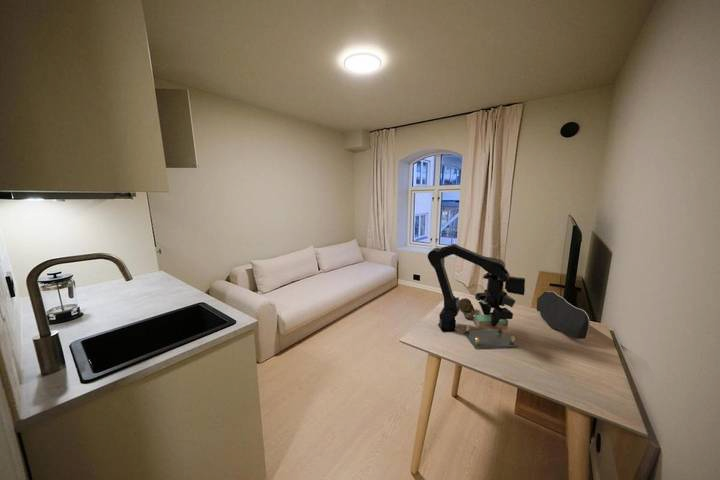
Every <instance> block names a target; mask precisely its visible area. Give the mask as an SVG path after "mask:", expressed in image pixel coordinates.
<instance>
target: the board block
mask: <svg viewBox="0 0 720 480" xmlns="http://www.w3.org/2000/svg"><path fill="white" fill-rule="evenodd" d="M473 316H474V319H473V324H474V325H475V327H476V328H477V330H502V331H503V330H504V331H505V330H506V331H507V330H508V328H509V319H500V320H499V322H498V323H497V325H496V326H495V327H493V326H492V322H491V317H490V315H484V314H474V315H473Z"/></svg>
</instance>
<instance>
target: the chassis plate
mask: <svg viewBox="0 0 720 480" xmlns="http://www.w3.org/2000/svg"><path fill="white" fill-rule="evenodd" d="M470 329H471V326H470V325H466V326H465V330H463V332H462V333H463V335H464V336H465V337H466V339H467V340H468V341H469V342H470V344H471V346H473V348H474V349H475V350H477V349H478V350H482V349H483V350H484V349H507V348H508V349H510V348H512V349H513V348H514V349H515V348H517V346H518V345H517V344H516V336H514V335H510V337H509V336H508V335H507V333H505V332H504V331H503V330H496V329H477V330H472V329H471V330H470Z"/></svg>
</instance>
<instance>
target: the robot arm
mask: <svg viewBox="0 0 720 480" xmlns="http://www.w3.org/2000/svg"><path fill="white" fill-rule="evenodd" d="M453 255H454V256H456V257H458V258H461V259H463V260H465V261H468V262H470V263H472V264H475V265H476V266H479V267H480V268H481V269H483V270H484V271H485V272H487V273H485V274H484V275H483V277H482V278H483V279H485V280H487V286H486V289H484V292H477V293H476V294H475V296H474V297H475V298H474V299H475V300H476V301H477V302H478V304H479V307H480V308H481V310H482V313H483V314H482V315H490V317H491V322H492V326H493V327H495V326H496V325H497V323H498V322H499V320H500V319H507V320H512V319H514V318H513V317H514V313H513V312H512V311H511V310H510V309H508V307H510V308H513V306H514V305H515V303H516V299H514V298H512V297H511V296H509V294H508V293H510V294H513V295H518V296H519V295H520V296H524V295H525V291H526V287H525V285H526V278H525V277H516V276H511V275H510V273H509V272H508V270H507V269H506V263H505V262H504V261H503V260H502V259H498V258H496V257H495V258H494V257H489V256H485V255H481V254H479V253H477V252H474V251H472V250H469V249H467V248H465V247H462V246H459V245H458V244H456V243H452V244H450V245H447V246H443V247H435V248H433V249H432V250H430V251H429V252H428V254H427V259H428V262H429V263H430V265H431V266H432V268H433V269H434V271H435V274H436V277H437V280H438V283H439V287H440V290H441V293H442V297H443V308H441V309H442V310H441V311H440V313H439V319H438V320H439V321H438V322H439V323H437V326H438V327H439V329H440V330H441V332H442V333H445V332H446V333H447V332H448V333H449V332H450V333H451V332H457V330H456V324H457V320H456V318H457V316H458V315H459V313H460V307H461V304H460V302H459V300H460V297H458V296H457V297H456V296H455V295H454V293H453V290H452V286H451V283H450V280H449V277H448V273H447V270H446V268H445V258H447V257H449V256H453ZM503 288H504V289H503ZM504 290H505V291H504ZM505 306H507V307H505ZM492 309H493V310H492ZM491 311H492V312H491Z"/></svg>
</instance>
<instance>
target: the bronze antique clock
mask: <svg viewBox="0 0 720 480" xmlns="http://www.w3.org/2000/svg"><path fill="white" fill-rule="evenodd" d="M459 302H460V304H461V307H460V310H459V312H461V313H462V314H463V317H464V318H465V319H467V320H470V321H472V320H474V315H476V311H475V308H474V305H473V304H472V301H471V299H469V298H465V297H463V298H461V299H459ZM472 311H473V313H471V314H470V312H472Z"/></svg>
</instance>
